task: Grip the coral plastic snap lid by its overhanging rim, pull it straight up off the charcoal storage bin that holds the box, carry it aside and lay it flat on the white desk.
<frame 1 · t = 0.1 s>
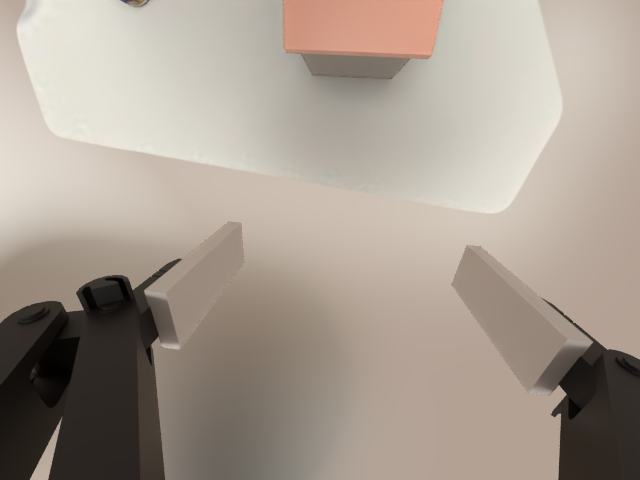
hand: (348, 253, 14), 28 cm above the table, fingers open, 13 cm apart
bin: (356, 26, 31), on the table
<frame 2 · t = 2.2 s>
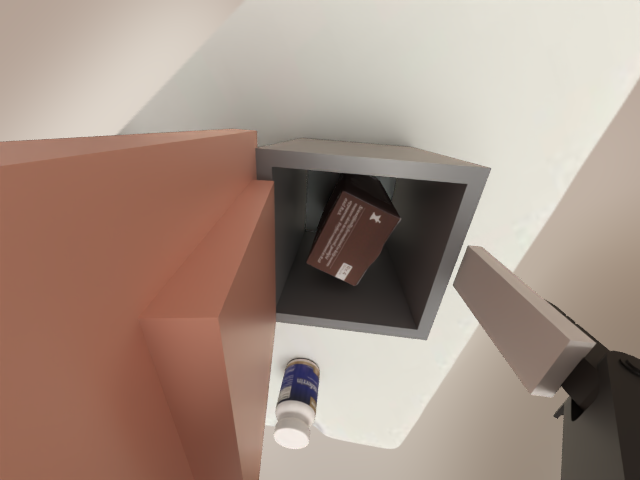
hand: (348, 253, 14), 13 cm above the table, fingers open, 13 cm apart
lid: (238, 320, 9), point 20 cm above the table, tilted 80°, touching bin, gripper
box: (349, 195, 26), resting in bin
pill bottle: (303, 367, 39), on the table
bin: (349, 196, 26), on the table
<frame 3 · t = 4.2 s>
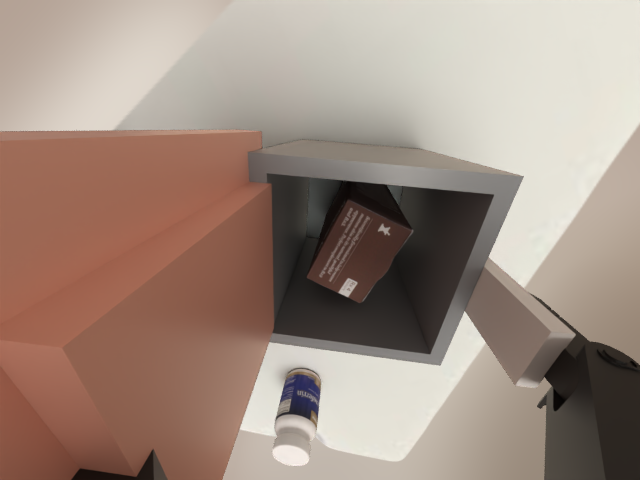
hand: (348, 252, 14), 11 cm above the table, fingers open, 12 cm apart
lid: (213, 327, 8), point 18 cm above the table, tilted 89°, touching bin, gripper
box: (353, 200, 25), resting in bin
pill bottle: (303, 377, 38), on the table
bin: (353, 201, 25), on the table
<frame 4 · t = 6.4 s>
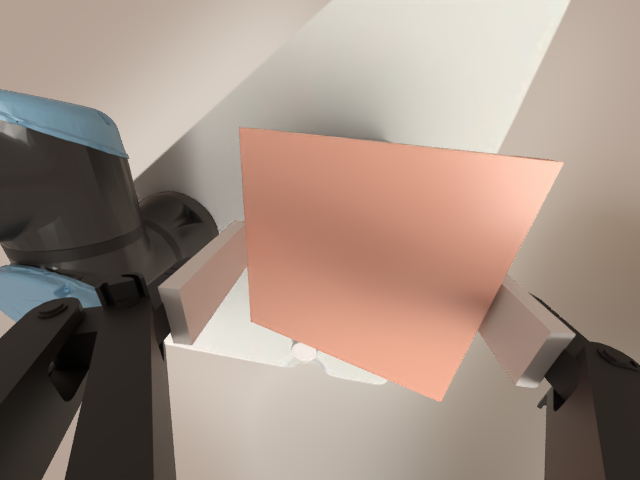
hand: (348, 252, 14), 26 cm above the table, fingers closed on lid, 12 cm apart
lid: (352, 262, 13), point 28 cm above the table, tilted 18°, touching gripper
pill bottle: (310, 312, 51), on the table
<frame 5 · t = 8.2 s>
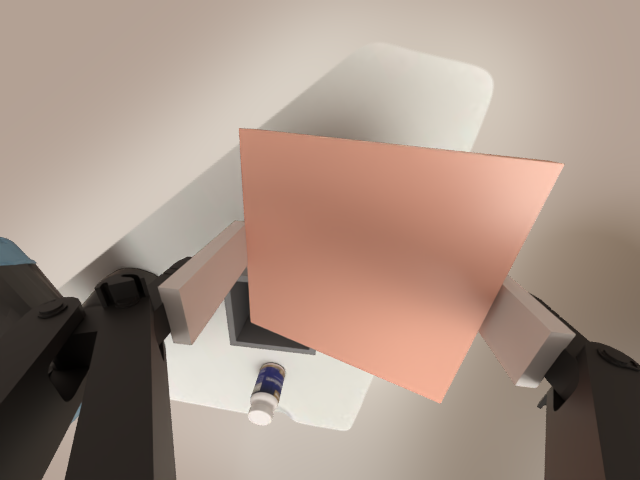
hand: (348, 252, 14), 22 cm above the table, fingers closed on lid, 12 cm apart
lid: (352, 263, 13), point 23 cm above the table, tilted 19°, touching gripper
pill bottle: (273, 369, 54), on the table
bin: (293, 258, 41), on the table
when the fingers open (1 cm above the table, at t = 11.5 s): lid stays where it is, point 2 cm above the table.
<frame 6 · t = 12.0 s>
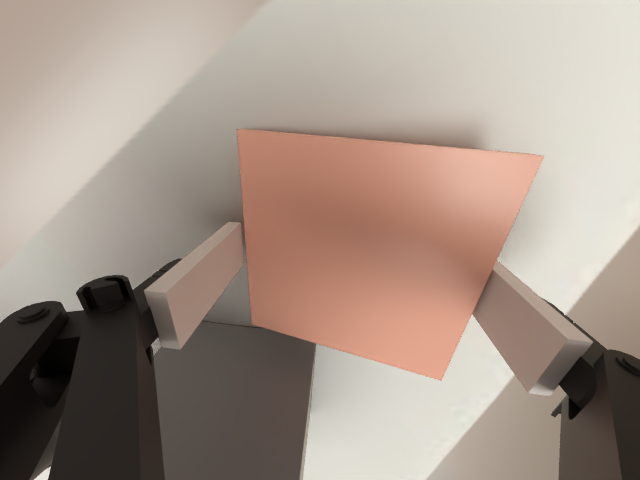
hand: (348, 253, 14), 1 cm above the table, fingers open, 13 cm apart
lid: (353, 257, 14), point 2 cm above the table, tilted 12°, touching gripper
bin: (253, 371, 22), on the table
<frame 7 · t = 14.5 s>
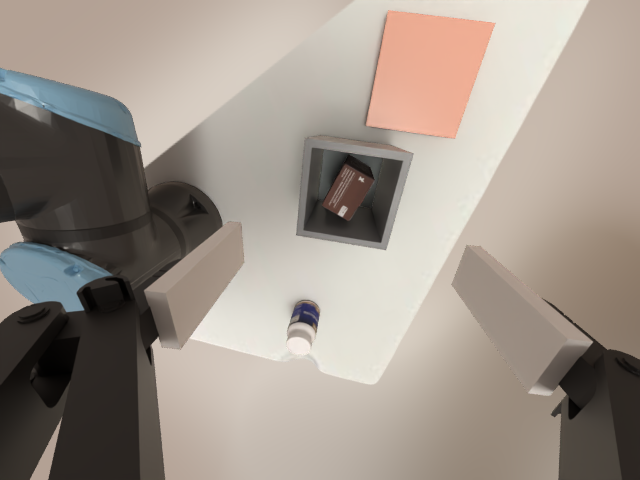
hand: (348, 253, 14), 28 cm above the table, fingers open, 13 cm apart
lid: (421, 81, 32), point 1 cm above the table
box: (349, 176, 39), resting in bin
pill bottle: (307, 309, 52), on the table
bin: (349, 176, 39), on the table
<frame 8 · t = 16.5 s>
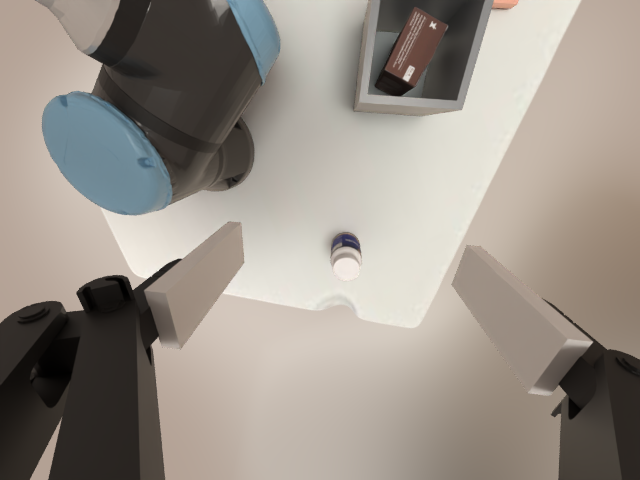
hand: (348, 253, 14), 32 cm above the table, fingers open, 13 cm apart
box: (394, 72, 36), resting in bin
pill bottle: (345, 243, 49), on the table
bin: (394, 72, 36), on the table
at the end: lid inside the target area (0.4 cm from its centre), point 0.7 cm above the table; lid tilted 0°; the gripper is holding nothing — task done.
